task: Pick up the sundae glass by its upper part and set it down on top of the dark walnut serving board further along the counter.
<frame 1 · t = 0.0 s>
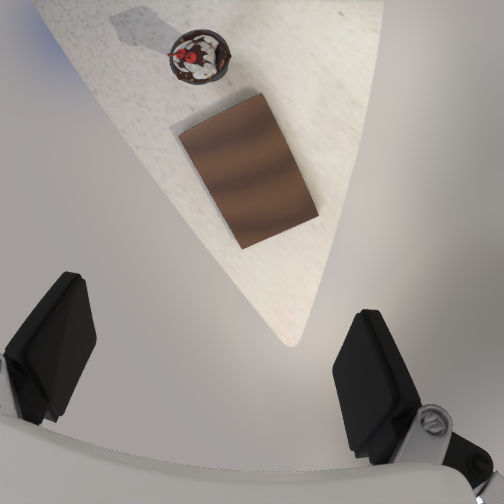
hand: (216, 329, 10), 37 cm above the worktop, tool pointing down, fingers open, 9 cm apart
sundae: (210, 65, 37), on the worktop
serving board: (251, 173, 45), on the worktop
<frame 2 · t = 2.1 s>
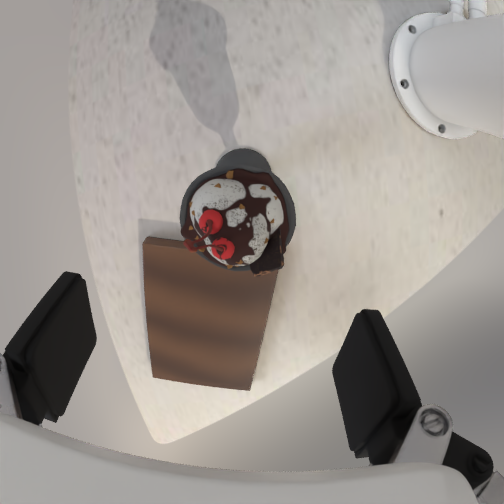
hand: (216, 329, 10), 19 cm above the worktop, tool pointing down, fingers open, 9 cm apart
sundae: (242, 175, 27), on the worktop
serving board: (205, 323, 34), on the worktop
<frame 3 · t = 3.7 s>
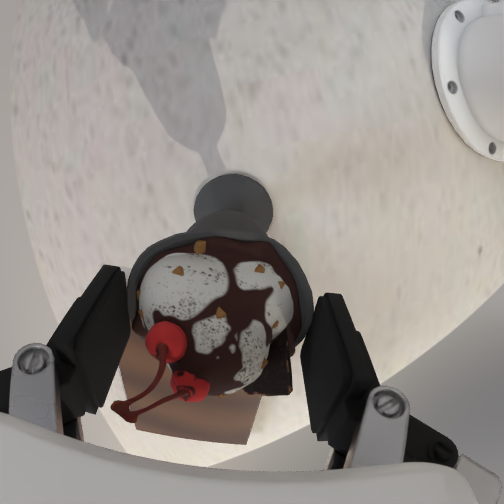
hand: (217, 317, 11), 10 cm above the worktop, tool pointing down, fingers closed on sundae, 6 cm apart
sundae: (232, 211, 20), on the worktop, touching gripper
serving board: (191, 380, 27), on the worktop
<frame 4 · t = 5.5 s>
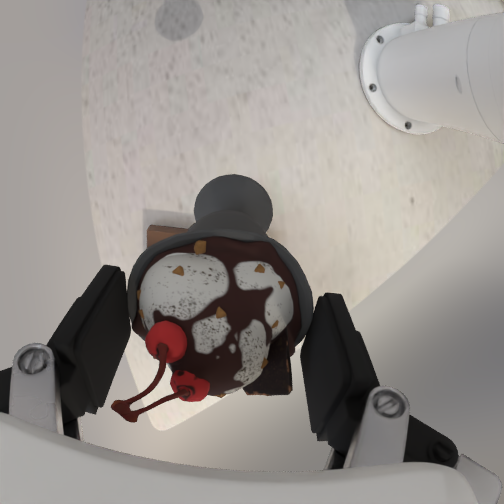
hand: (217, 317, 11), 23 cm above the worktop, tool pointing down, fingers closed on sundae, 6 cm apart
sundae: (232, 211, 20), point 12 cm above the worktop, touching gripper
serving board: (201, 304, 38), on the worktop
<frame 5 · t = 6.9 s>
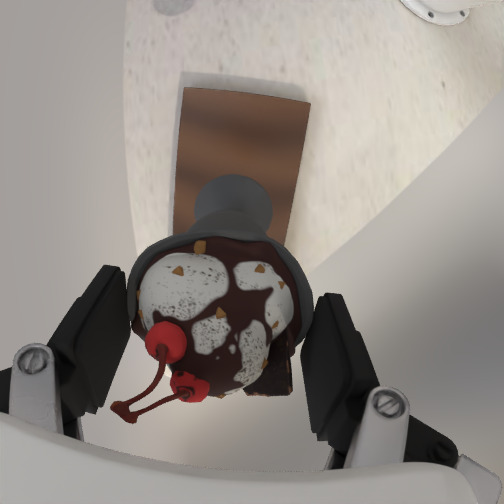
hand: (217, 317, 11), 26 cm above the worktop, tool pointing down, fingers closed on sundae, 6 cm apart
sundae: (232, 211, 20), point 15 cm above the worktop, touching gripper
serving board: (235, 181, 34), on the worktop
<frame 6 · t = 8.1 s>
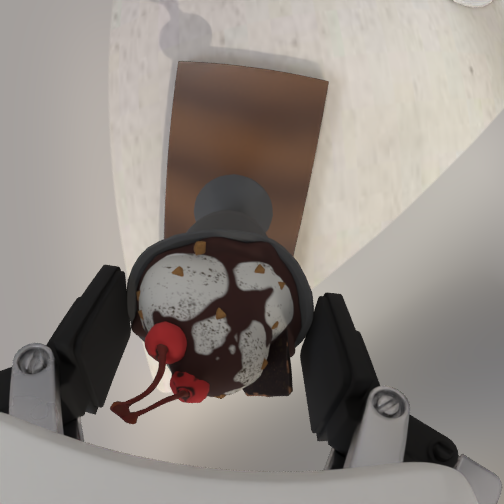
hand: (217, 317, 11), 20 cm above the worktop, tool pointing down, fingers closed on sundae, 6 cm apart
sundae: (232, 211, 20), point 10 cm above the worktop, touching gripper
serving board: (238, 173, 29), on the worktop
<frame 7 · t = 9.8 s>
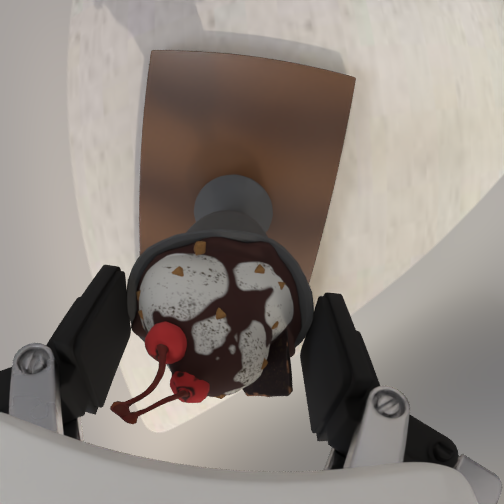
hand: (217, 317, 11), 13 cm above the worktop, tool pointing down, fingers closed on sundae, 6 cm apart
sundae: (232, 211, 20), point 3 cm above the worktop, touching gripper
serving board: (233, 199, 22), on the worktop
when the fingers open (12 cm above the worktop, at t = 10.7 s): sundae stays where it is, resting on serving board.
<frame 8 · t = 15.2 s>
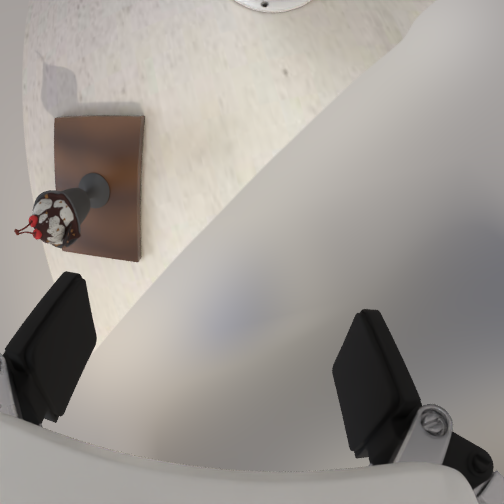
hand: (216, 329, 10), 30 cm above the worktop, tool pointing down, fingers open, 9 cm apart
sundae: (94, 190, 37), point 1 cm above the worktop, touching serving board
serving board: (98, 187, 38), on the worktop
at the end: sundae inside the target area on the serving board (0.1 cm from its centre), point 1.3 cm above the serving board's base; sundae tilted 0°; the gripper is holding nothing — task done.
